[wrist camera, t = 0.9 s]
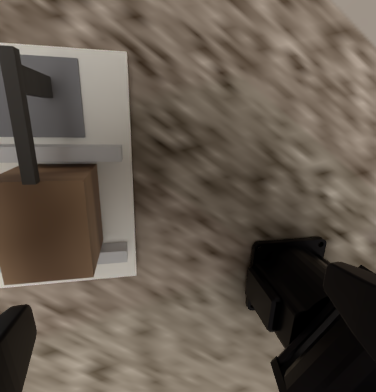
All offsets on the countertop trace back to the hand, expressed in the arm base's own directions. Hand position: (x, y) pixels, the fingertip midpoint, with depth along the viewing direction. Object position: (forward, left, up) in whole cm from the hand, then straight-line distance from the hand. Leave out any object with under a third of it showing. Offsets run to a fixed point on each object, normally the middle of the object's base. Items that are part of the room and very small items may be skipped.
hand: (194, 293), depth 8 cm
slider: (+6, -2, -9) cm, 11 cm away
